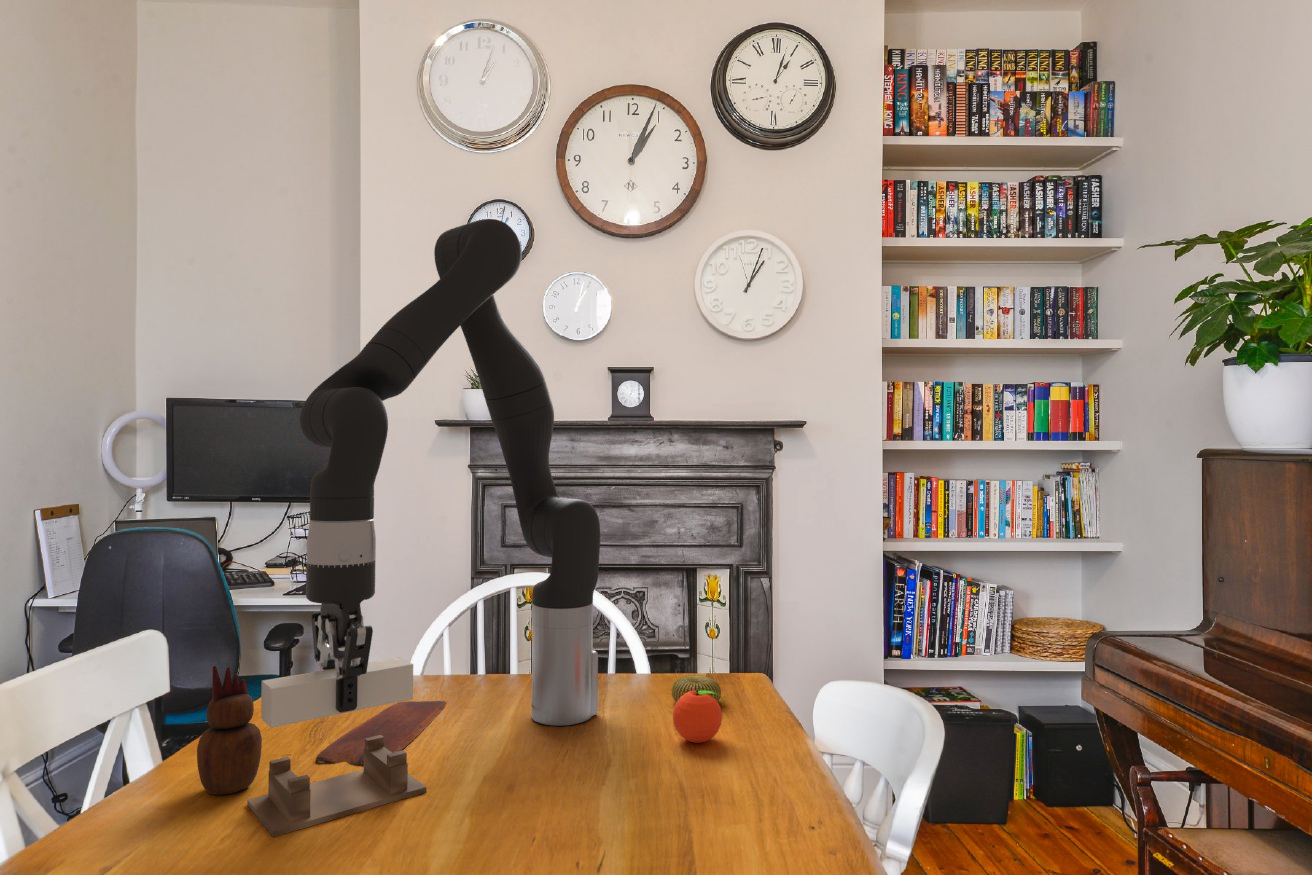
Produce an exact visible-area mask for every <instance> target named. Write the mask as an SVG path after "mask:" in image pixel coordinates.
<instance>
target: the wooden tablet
mask: <svg viewBox="0 0 1312 875" xmlns="http://www.w3.org/2000/svg"><path fill="white" fill-rule="evenodd" d="M446 705H447V701H445V700H426V701H425V700H423V701H422V700H421V701H415V700H414V701H410V700H409V701H400V702H396V703H393V704H391V705H390V706H388V707H386V708H385V709H383V710H381V711H379V712H378V713H377V714H376V715H374V716H372V717H370V718H368V719H367V720H365V721H363V722H361V723H360V724H359V725H357V726H355V727H354V728H352V729H351V730H349V731H348V732H346V733H345V734H343V735H342V736H340V737H339V738H337V739H336V740H335V741H333V742H331V743H329V745H328V746H327V747H325V748H323V749H322V750H321V751H320V752H319V753H318V754H317V756H316V758H315V762H316V763H317V764H326V765H327V764H329V765H330V764H332V765H334V764H341V763H347V764H348V765H352V766H357V767H359V766H360V767H364V747H365V738H369V737H374V736H378V735H382V736H383V737H384V747H385V748H386V749H388V750H389V751H391V752H392V753H394V752H398V751H402V750H404V749H405V748H406V747H408V745H409V744H411V742H413V741H414V740H415V739H416V738H417V737H418V736H419V735H420V734H421V733H422V732H423V731H424V730H425V729H426V728H427V727H428V726H429V725H430V724H431V722H433V721H434V720H435V719H436V718H437V717H438V716H439V715H440V713H442V711H443V709H445V707H446Z"/></svg>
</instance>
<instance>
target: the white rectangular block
mask: <svg viewBox="0 0 1312 875" xmlns="http://www.w3.org/2000/svg"><path fill="white" fill-rule="evenodd" d="M336 679H337V678H336V670H335V669H329V670H318V671H317V670H316V671H312V672H306V673H300V674H293V675H287V676H281V677H275V678H270V679H264V680H263V679H262V680H261V694H260V695H261V700H260V701H261V702H260V703H261V704H260V706H261V707H260V709H261V710H260V712H261V713H260V718H261V720H262V721H263V722H265V724H266V725H268V727H270V728H271V729H274V728H278V727H282V726H287V725H292V724H298V723H302V722H307V721H312V720H316V719H320V718H321V719H322V718H326V717H327V718H328V717H331V716H335V715H342V714H346V713H350V712H356V711H361V710H365V709H370V708H375V707H380V706H384V705H389V704H396V703H399V702H406V701H410V700H413V699H414V663H412V662H410V661H407V660H406V659H404V658H401V657H395V658H390V659H389V658H388V659H383V660H378V661H377V660H376V661H372V662H368V666H367V672H366V674H362V675H360V676H358V687H357V708H356V709H355V710H352V711H347V712H342V713H340V712H338V711H337V710H336Z"/></svg>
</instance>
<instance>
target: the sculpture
mask: <svg viewBox="0 0 1312 875" xmlns="http://www.w3.org/2000/svg"><path fill="white" fill-rule="evenodd" d="M696 690H698V691H702V690H706V691H712V692H714V693H716V694H711V693H709V694H710V695H711V696H713V697H714V698H715V699H716V701H717V702H718V703H719V701H720V699H721V697H722V688H721V685H720V684H719V683H718V681H717V680H715V679H714V678H712V677H709V676H706V675H697V674H694V675H685V676H681V677H680V678H678V679H676V680H675V681H674V683H673V685H672V687H671V697H672V699H673V701H674V702H675V703H676V702H677V701H678V700H679V699H680V697H681V696H683V695H684V694H686V693H687V692H690V691H696ZM717 694H718V695H717ZM719 695H720V696H721V697H720V696H719Z"/></svg>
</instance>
